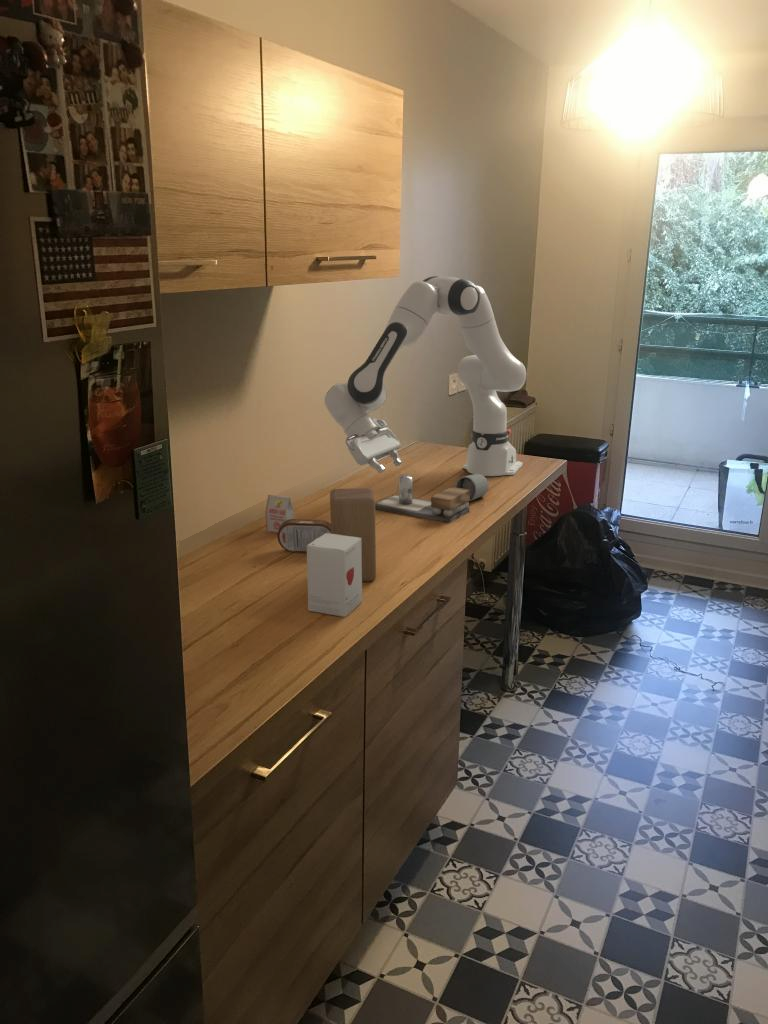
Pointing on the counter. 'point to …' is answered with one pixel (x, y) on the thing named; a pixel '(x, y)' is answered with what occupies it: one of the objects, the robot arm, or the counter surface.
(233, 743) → the counter surface
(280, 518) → the tea bag
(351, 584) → the supplement box
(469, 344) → the robot arm
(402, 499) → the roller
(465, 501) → the grey board with block
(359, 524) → the wooden block
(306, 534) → the tin
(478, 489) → the ceramic mug
